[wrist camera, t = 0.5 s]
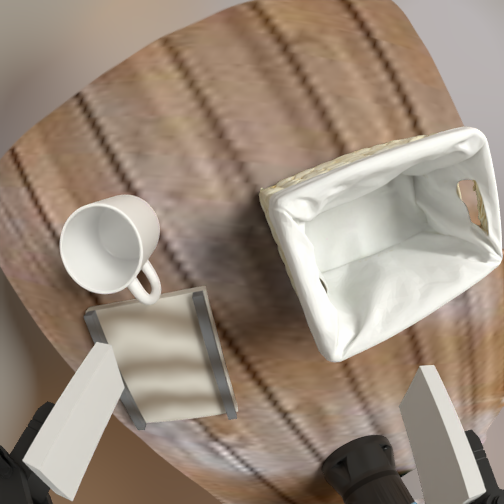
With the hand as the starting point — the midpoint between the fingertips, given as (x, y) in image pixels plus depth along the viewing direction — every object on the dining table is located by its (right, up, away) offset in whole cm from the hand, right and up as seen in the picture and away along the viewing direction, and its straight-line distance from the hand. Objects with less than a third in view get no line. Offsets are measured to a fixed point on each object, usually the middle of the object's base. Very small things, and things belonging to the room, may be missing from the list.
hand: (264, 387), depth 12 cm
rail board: (-12, -10, +28) cm, 32 cm away
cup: (-14, +7, +24) cm, 28 cm away
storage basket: (+12, +10, +26) cm, 31 cm away
